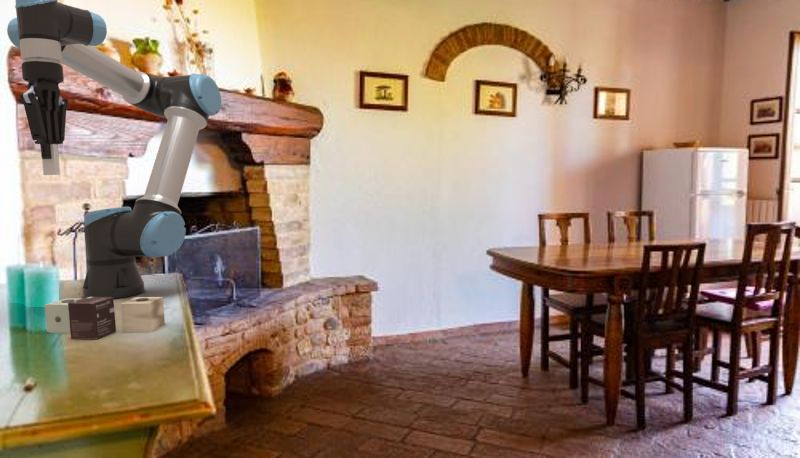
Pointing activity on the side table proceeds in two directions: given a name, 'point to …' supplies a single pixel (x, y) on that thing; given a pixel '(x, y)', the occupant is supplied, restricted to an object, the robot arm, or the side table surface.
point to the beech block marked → (142, 314)
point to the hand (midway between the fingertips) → (51, 174)
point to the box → (91, 317)
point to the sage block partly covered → (58, 316)
